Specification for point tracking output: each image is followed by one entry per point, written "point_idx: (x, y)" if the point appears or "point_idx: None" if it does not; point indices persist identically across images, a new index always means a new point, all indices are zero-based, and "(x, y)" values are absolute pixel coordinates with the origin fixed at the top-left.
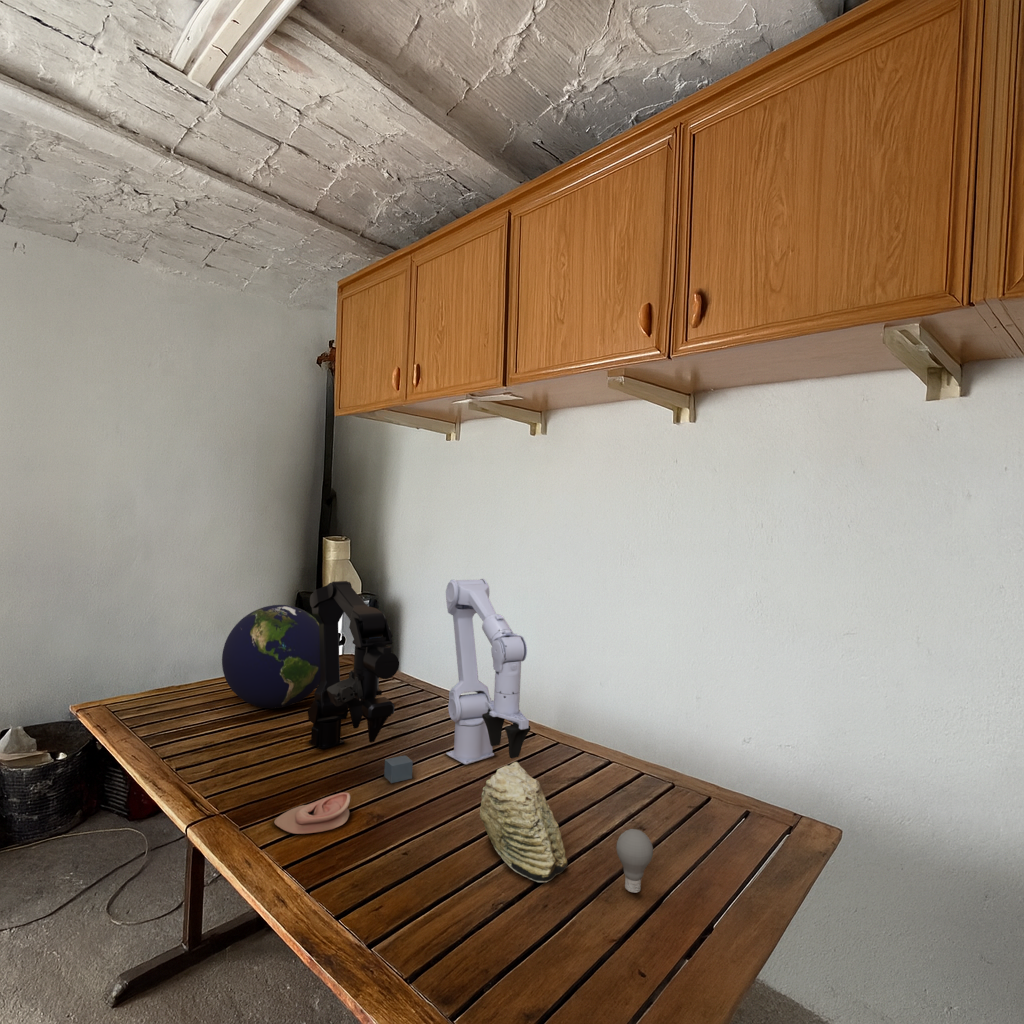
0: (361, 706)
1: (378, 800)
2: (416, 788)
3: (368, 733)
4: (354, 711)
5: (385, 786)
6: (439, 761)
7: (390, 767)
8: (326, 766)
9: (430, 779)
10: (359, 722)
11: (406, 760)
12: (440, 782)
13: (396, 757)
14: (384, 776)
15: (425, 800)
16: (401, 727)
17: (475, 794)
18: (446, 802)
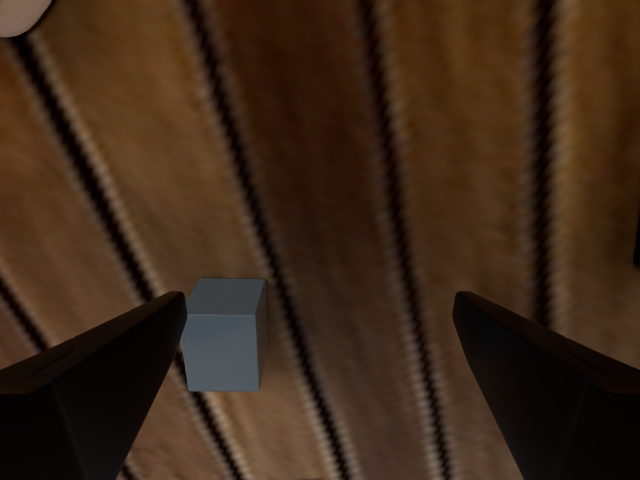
0: (544, 475)
1: (82, 187)
2: None
3: (142, 315)
4: (536, 382)
5: (187, 252)
6: (290, 450)
7: (195, 307)
8: (480, 120)
9: (180, 385)
10: (464, 347)
11: (206, 376)
12: None
13: (252, 358)
14: (262, 279)
15: (36, 317)
16: None
17: None
18: (6, 360)
